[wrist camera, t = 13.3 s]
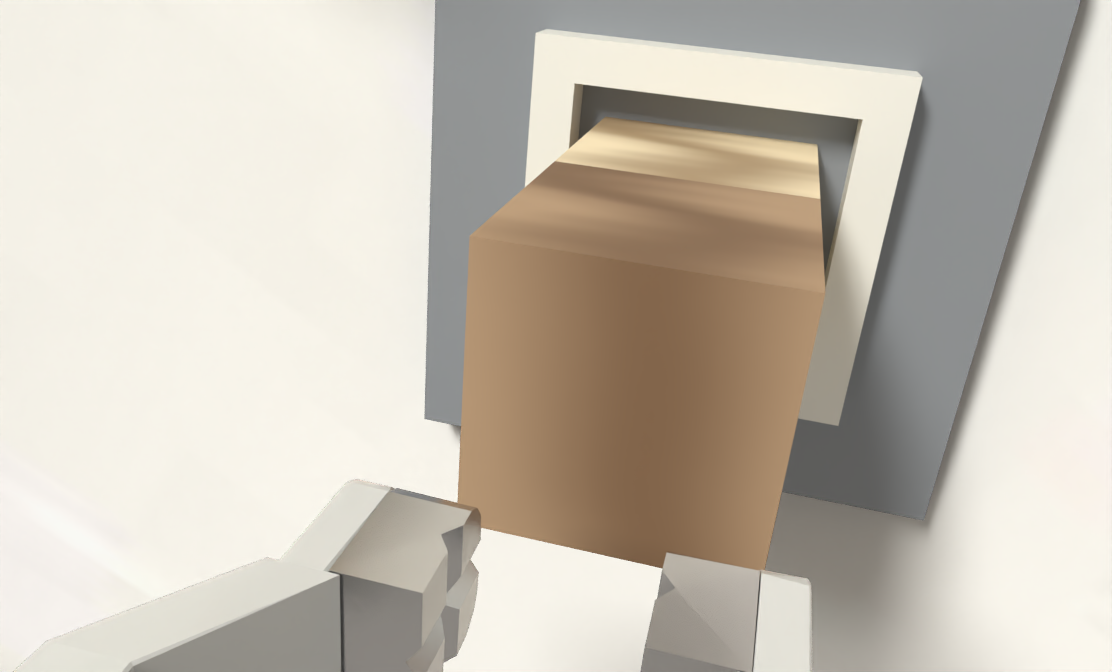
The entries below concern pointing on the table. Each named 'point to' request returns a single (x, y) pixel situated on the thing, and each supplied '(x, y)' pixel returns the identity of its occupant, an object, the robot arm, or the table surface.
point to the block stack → (643, 343)
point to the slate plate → (794, 115)
